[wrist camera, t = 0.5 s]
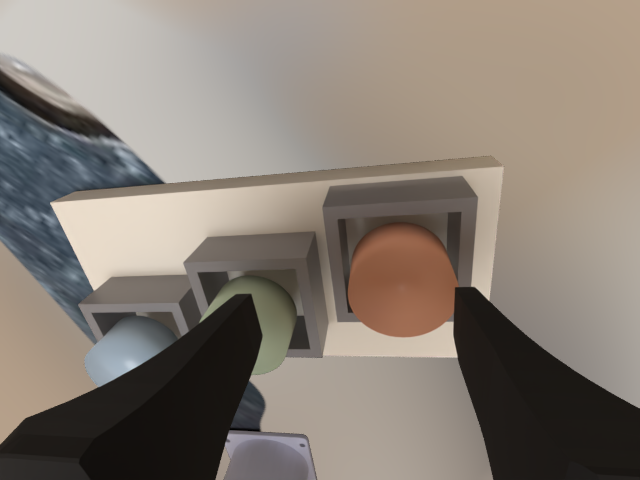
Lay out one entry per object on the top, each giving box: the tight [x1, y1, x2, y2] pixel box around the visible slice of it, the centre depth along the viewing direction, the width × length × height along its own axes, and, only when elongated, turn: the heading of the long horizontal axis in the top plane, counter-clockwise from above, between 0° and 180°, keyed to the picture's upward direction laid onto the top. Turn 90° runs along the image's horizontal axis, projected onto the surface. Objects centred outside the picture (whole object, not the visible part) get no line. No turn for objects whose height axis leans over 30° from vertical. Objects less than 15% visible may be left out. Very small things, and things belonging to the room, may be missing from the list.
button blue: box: [85, 316, 178, 387], centre depth 20 cm, size 4×4×2 cm
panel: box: [51, 156, 504, 358], centre depth 21 cm, size 12×25×5 cm, turn 97°
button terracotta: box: [348, 222, 459, 337], centre depth 15 cm, size 4×4×2 cm
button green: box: [199, 275, 297, 375], centre depth 18 cm, size 4×4×2 cm
